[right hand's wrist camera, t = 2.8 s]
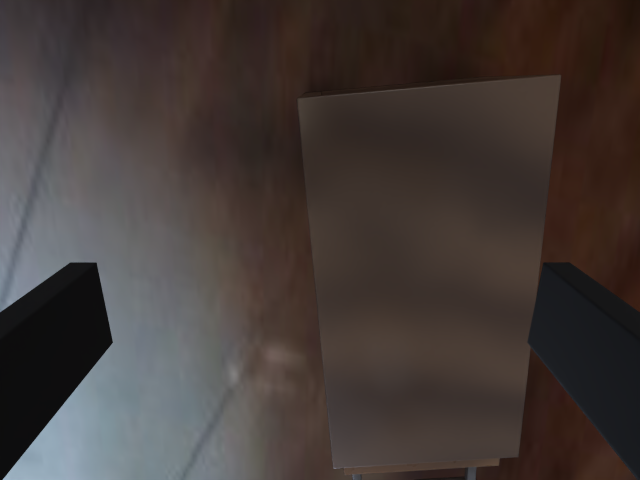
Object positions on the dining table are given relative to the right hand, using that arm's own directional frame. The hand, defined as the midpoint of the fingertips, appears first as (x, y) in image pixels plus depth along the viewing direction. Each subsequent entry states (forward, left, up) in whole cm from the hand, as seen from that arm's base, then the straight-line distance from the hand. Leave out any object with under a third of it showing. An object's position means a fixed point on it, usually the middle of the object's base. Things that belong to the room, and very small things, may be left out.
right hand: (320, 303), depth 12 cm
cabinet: (+1, +7, -16) cm, 18 cm away
